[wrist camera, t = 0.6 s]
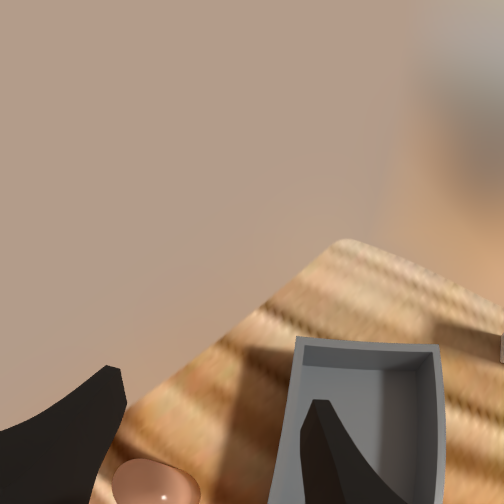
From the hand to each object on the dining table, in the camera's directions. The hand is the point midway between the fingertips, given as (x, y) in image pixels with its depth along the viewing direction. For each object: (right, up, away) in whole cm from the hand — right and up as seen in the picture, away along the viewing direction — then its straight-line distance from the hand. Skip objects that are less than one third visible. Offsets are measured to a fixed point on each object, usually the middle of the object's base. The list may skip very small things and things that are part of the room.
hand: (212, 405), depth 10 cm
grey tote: (+11, -12, +12) cm, 20 cm away
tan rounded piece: (-5, -15, +10) cm, 19 cm away
